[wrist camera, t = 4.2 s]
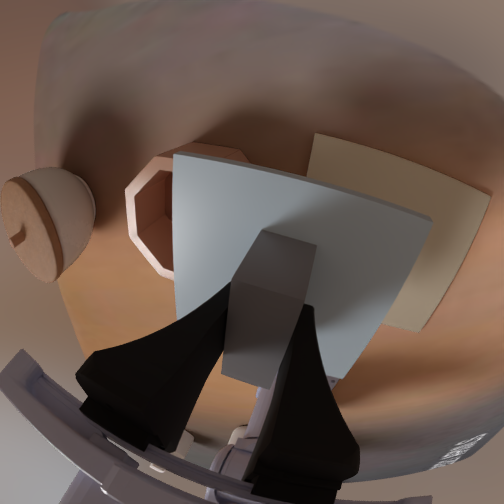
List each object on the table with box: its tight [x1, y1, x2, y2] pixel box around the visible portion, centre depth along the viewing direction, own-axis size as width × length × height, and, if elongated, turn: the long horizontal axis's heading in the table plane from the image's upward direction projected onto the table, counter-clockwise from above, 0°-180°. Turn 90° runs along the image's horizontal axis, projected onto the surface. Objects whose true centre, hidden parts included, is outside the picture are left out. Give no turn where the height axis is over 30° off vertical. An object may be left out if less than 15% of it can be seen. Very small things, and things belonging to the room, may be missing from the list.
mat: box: [306, 133, 491, 333], centre depth 18 cm, size 13×13×1 cm
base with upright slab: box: [150, 430, 194, 473], centre depth 50 cm, size 9×9×12 cm
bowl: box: [125, 142, 251, 280], centre depth 19 cm, size 9×9×4 cm
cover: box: [172, 151, 433, 390], centre depth 12 cm, size 11×11×4 cm
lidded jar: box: [1, 167, 96, 283], centre depth 21 cm, size 11×11×9 cm
